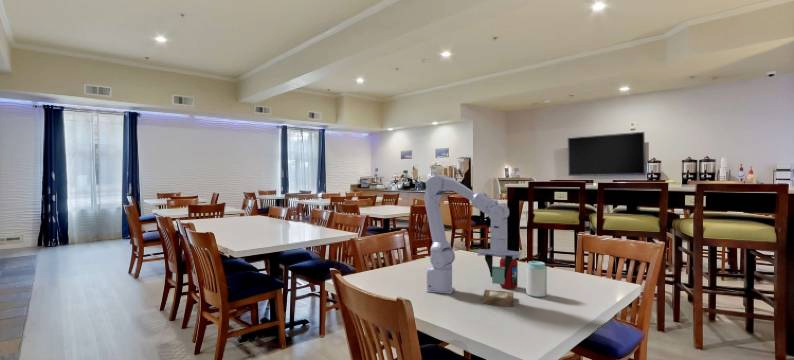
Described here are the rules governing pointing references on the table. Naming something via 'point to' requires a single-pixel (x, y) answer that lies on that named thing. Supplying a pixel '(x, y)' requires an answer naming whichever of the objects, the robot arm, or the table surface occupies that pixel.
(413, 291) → the table surface
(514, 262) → the beverage can
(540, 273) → the can
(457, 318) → the table surface
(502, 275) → the teal block
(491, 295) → the walnut base
